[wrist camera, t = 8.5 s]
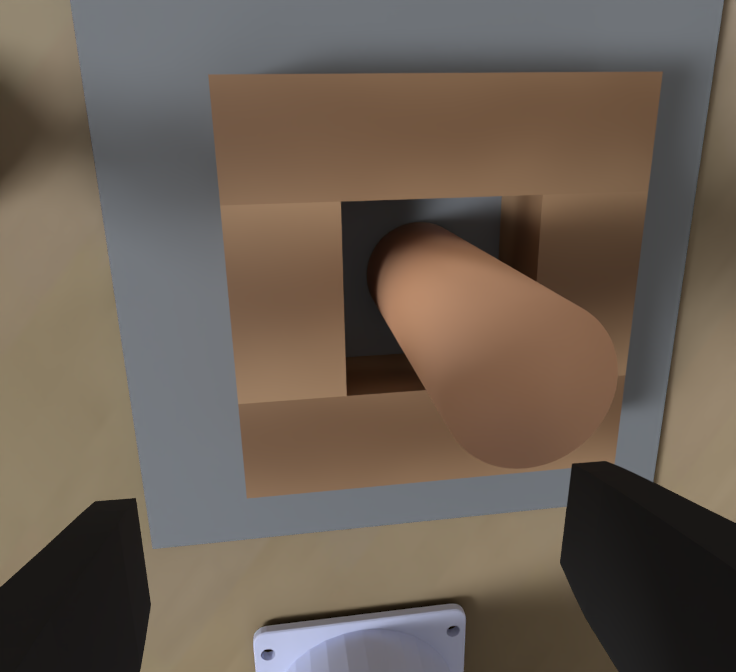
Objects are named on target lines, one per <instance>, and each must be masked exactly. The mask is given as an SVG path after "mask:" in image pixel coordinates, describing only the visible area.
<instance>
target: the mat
mask: <svg viewBox="0 0 736 672" xmlns="http://www.w3.org/2000/svg"><path fill="white" fill-rule="evenodd" d="M70 3H71V9H72V16H73V23H74V29H75V36H76V43H77V49H78V56H79V62H80V69H81V76H82V82H83V89H84V96H85V102H86V109H87V116H88V122H89V129H90V135H91V142H92V149H93V155H94V162H95V169H96V175H97V182H98V189H99V195H100V202H101V208H102V215H103V222H104V228H105V235H106V242H107V248H108V255H109V262H110V268H111V275H112V281H113V288H114V295H115V301H116V308H117V315H118V321H119V328H120V335H121V341H122V348H123V354H124V361H125V368H126V374H127V381H128V388H129V394H130V401H131V408H132V414H133V421H134V427H135V434H136V441H137V447H138V454H139V461H140V467H141V474H142V481H143V487H144V494H145V500H146V507H147V514H148V520H149V527H150V534H151V540H152V547H153V549H157V548H167V547H177V546H186V545H196V544H206V543H216V542H225V541H235V540H245V539H255V538H264V537H274V536H284V535H293V534H303V533H313V532H323V531H332V530H342V529H352V528H362V527H371V526H381V525H391V524H401V523H410V522H420V521H430V520H440V519H449V518H459V517H469V516H479V515H488V514H498V513H508V512H518V511H527V510H537V509H547V508H557V507H566V506H567V501H568V492H569V484H570V476H571V468H566V469H556V470H545V471H534V472H524V473H513V474H502V475H492V476H481V477H471V478H460V479H449V480H439V481H428V482H417V483H407V484H396V485H386V486H375V487H364V488H354V489H343V490H333V491H322V492H311V493H301V494H290V495H279V496H269V497H258V498H248V499H247V495H246V484H245V473H244V462H243V451H242V440H241V429H240V418H239V407H238V396H237V385H236V374H235V363H234V352H233V341H232V330H231V319H230V308H229V297H228V286H227V275H226V264H225V253H224V242H223V231H222V220H221V209H220V198H219V187H218V176H217V165H216V154H215V143H214V132H213V121H212V110H211V99H210V88H209V77H208V74H360V73H515V72H663V74H662V83H661V91H660V99H659V107H658V115H657V123H656V131H655V139H654V148H653V156H652V164H651V172H650V180H649V188H648V196H647V204H646V213H645V221H644V229H643V237H642V245H641V253H640V261H639V270H638V278H637V286H636V294H635V302H634V310H633V318H632V326H631V335H630V343H629V351H628V359H627V367H626V375H625V383H624V391H623V400H622V408H621V416H620V424H619V432H618V440H617V448H616V457H615V465H617V466H620V467H622V468H624V469H627V470H629V471H631V472H633V473H635V474H637V475H639V476H641V477H643V478H646V479H648V480H650V481H652V482H653V480H654V473H655V466H656V460H657V453H658V446H659V439H660V432H661V425H662V419H663V412H664V405H665V398H666V391H667V385H668V378H669V371H670V364H671V357H672V351H673V344H674V337H675V330H676V323H677V316H678V310H679V303H680V296H681V289H682V282H683V276H684V269H685V262H686V255H687V248H688V242H689V235H690V228H691V221H692V214H693V207H694V201H695V194H696V187H697V180H698V173H699V167H700V160H701V153H702V146H703V139H704V133H705V126H706V119H707V112H708V105H709V98H710V92H711V85H712V78H713V71H714V64H715V58H716V51H717V44H718V37H719V30H720V24H721V17H722V10H723V3H724V0H70ZM501 201H502V196H491V197H461V198H432V199H402V200H372V201H342V202H341V225H342V258H343V291H344V324H345V357H358V356H373V355H388V354H403V353H404V352H403V350H402V348H401V347H400V345H399V343H398V341H397V340H396V338H395V336H394V335H393V333H392V331H391V330H390V328H389V326H388V325H387V323H386V321H385V319H384V318H383V316H382V314H381V313H380V311H379V309H378V308H377V306H376V304H375V302H374V301H373V299H372V297H371V295H370V292H369V289H368V285H367V266H368V262H369V259H370V256H371V254H372V252H373V250H374V248H375V247H376V245H377V244H378V242H379V241H380V240H381V239H382V238H383V237H384V236H385V235H386V234H388V233H389V232H390V231H392V230H393V229H395V228H397V227H399V226H401V225H405V224H408V223H413V222H427V223H432V224H436V225H438V226H441V227H443V228H444V229H446V230H448V231H450V232H451V233H453V234H455V235H457V236H458V237H460V238H462V239H463V240H465V241H467V242H469V243H470V244H472V245H474V246H476V247H477V248H479V249H481V250H482V251H484V252H486V253H488V254H489V255H491V256H493V257H495V258H496V259H498V260H499V240H500V220H501Z"/></svg>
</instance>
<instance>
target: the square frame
mask: <svg viewBox="0 0 736 672" xmlns="http://www.w3.org/2000/svg"><path fill="white" fill-rule="evenodd" d="M662 74H663V72H515V73H360V74H208V77H209V88H210V99H211V110H212V121H213V132H214V143H215V154H216V165H217V176H218V187H219V198H220V209H221V220H222V231H223V242H224V253H225V264H226V275H227V286H228V297H229V308H230V319H231V330H232V341H233V352H234V363H235V374H236V385H237V396H238V407H239V418H240V429H241V440H242V451H243V462H244V473H245V484H246V495H247V499H248V498H258V497H269V496H279V495H290V494H301V493H311V492H322V491H333V490H343V489H354V488H364V487H375V486H386V485H396V484H407V483H417V482H428V481H439V480H449V479H460V478H471V477H481V476H492V475H502V474H513V473H524V472H534V471H545V470H556V469H566V468H571V467H572V463H585V462H598V461H607V462H610V463H612V464H615V457H616V448H617V440H618V432H619V424H620V416H621V408H622V400H623V391H624V383H625V375H626V367H627V359H628V351H629V343H630V335H631V326H632V318H633V310H634V302H635V294H636V286H637V278H638V270H639V261H640V253H641V245H642V237H643V229H644V221H645V213H646V204H647V196H648V188H649V180H650V172H651V164H652V156H653V148H654V139H655V131H656V123H657V115H658V107H659V99H660V91H661V83H662ZM491 196H502V201H501V220H500V240H499V260H500V261H501V262H503V263H505V264H507V265H508V266H510V267H512V268H514V269H515V270H517V271H519V272H520V273H522V274H524V275H526V276H527V277H529V278H531V279H533V280H534V281H536V282H538V283H539V284H541V285H543V286H545V287H546V288H548V289H550V290H552V291H553V292H555V293H557V294H558V295H560V296H562V297H564V298H565V299H567V300H569V301H571V302H572V303H574V304H576V305H577V306H579V307H581V308H583V309H584V310H586V311H588V312H589V313H590V314H591V315H593V316H594V317H595V318H596V319H597V320H598V321H599V322H600V323H601V324H602V325H603V327H604V328H605V330H606V331H607V333H608V334H609V336H610V338H611V340H612V342H613V345H614V348H615V351H616V355H617V362H618V380H617V387H616V391H615V395H614V399H613V401H612V404H611V406H610V409H609V411H608V412H607V414H606V416H605V418H604V420H603V421H602V422H601V424H600V425H599V427H598V428H597V429H596V430H595V432H594V433H593V434H592V435H591V436H590V437H589V438H588V439H587V440H586V441H585V442H584V443H583V444H582V445H580V446H579V447H578V448H576V449H575V450H574V451H572V452H571V453H569V454H567V455H566V456H564V457H562V458H560V459H558V460H556V461H553V462H551V463H548V464H545V465H542V466H537V467H532V468H523V469H511V468H503V467H497V466H494V465H491V464H487V463H485V462H483V461H481V460H479V459H477V458H476V457H474V456H472V455H471V454H469V453H468V452H467V451H466V450H465V449H464V448H463V447H462V446H461V445H460V444H459V443H458V442H457V441H456V439H455V438H454V436H453V435H452V433H451V431H450V430H449V428H448V426H447V425H446V423H445V421H444V420H443V418H442V416H441V415H440V413H439V411H438V409H437V408H436V406H435V404H434V403H433V401H432V399H431V398H430V396H429V394H428V392H427V391H426V389H425V387H424V386H423V384H422V382H421V381H420V379H419V377H418V375H417V374H416V372H415V370H414V369H413V367H412V365H411V364H410V362H409V360H408V358H407V357H406V355H405V353H403V354H388V355H373V356H358V357H345V324H344V291H343V258H342V225H341V202H342V201H372V200H402V199H432V198H461V197H491Z"/></svg>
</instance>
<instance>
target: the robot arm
mask: <svg viewBox="0 0 736 672" xmlns="http://www.w3.org/2000/svg"><path fill="white" fill-rule="evenodd" d="M560 564H561V566H562V568H563V571H564V573H565V575H566V577H567V580H568V582H569V584H570V586H571V589H572V591H573V593H574V595H575V597H576V599H577V602H578V604H579V606H580V608H581V610H582V612H583V614H584V616H585V618H586V620H587V621H588V623H589V625H590V626H591V628H592V630H593V631H594V633H595V634H596V636H597V638H598V639H599V641H600V642H601V644H602V646H603V647H604V649H605V651H606V652H607V654H608V655H609V657H610V659H611V660H612V662H613V663H614V665H615V667H616V668H617V670H618V671H619V672H736V523H734V522H732V521H730V520H728V519H726V518H724V517H722V516H720V515H718V514H716V513H714V512H712V511H710V510H708V509H706V508H704V507H702V506H700V505H698V504H696V503H694V502H692V501H690V500H688V499H686V498H684V497H682V496H680V495H678V494H676V493H674V492H672V491H670V490H668V489H666V488H664V487H662V486H660V485H658V484H656V483H654V482H652V481H650V480H648V479H646V478H643V477H641V476H639V475H637V474H635V473H633V472H631V471H629V470H627V469H624V468H622V467H620V466H617V465H615V464H612V463H610V462H607V461H598V462H585V463H572V467H571V476H570V484H569V492H568V501H567V509H566V517H565V526H564V534H563V542H562V551H561V559H560ZM150 607H151V602H150V595H149V588H148V581H147V574H146V567H145V560H144V553H143V545H142V538H141V531H140V524H139V517H138V510H137V503H136V498H132V499H120V500H107V501H95V502H94V503H93V504H92V505H90V506H89V507H88V508H87V509H86V510H85V511H83V512H82V513H81V514H80V515H79V516H78V517H77V518H76V519H75V520H74V521H73V522H71V523H70V524H69V525H68V526H67V527H66V528H65V529H64V530H63V531H62V532H61V533H60V534H59V535H57V536H56V537H55V538H54V539H53V540H52V541H51V542H50V543H49V544H48V545H47V546H46V547H45V548H43V549H42V550H41V551H40V552H39V553H38V554H37V555H36V556H35V557H33V558H32V559H31V560H30V561H29V562H28V563H27V564H26V565H25V566H23V567H22V568H21V569H20V570H19V571H18V572H17V573H16V574H15V575H13V576H12V577H11V578H10V579H9V580H8V581H7V582H6V583H5V584H3V585H2V586H1V587H0V672H140V669H141V663H142V657H143V651H144V645H145V640H146V633H147V626H148V620H149V613H150ZM451 626H455V627H454V628H452V629H448V628H449V627H451ZM465 628H466V616H465V613H464V610H463V608H462V607H461V606H460V605H458V604H443V605H435V606H427V607H418V608H410V609H402V610H394V611H385V612H377V613H369V614H360V615H352V616H344V617H336V618H327V619H319V620H311V621H303V622H294V623H286V624H278V625H270V626H264V627H261V628H259V629H258V630H257V631H256V632H255V634H254V640H253V647H254V657H255V668H256V672H464V653H465ZM266 649H272V650H273V651H270V652H265V651H264V650H266Z"/></svg>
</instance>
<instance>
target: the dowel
mask: <svg viewBox="0 0 736 672" xmlns="http://www.w3.org/2000/svg"><path fill="white" fill-rule="evenodd" d="M367 285H368V289H369V292H370V295H371V297H372V299H373V301H374V302H375V304H376V306H377V308H378V309H379V311H380V313H381V314H382V316H383V318H384V319H385V321H386V323H387V325H388V326H389V328H390V330H391V331H392V333H393V335H394V336H395V338H396V340H397V341H398V343H399V345H400V347H401V348H402V350H403V352H404V353H405V355H406V357H407V358H408V360H409V362H410V364H411V365H412V367H413V369H414V370H415V372H416V374H417V375H418V377H419V379H420V381H421V382H422V384H423V386H424V387H425V389H426V391H427V392H428V394H429V396H430V398H431V399H432V401H433V403H434V404H435V406H436V408H437V409H438V411H439V413H440V415H441V416H442V418H443V420H444V421H445V423H446V425H447V426H448V428H449V430H450V431H451V433H452V435H453V436H454V438H455V439H456V441H457V442H458V443H459V444H460V445H461V446H462V447H463V448H464V449H465V450H466V451H467V452H468V453H469V454H471V455H472V456H474V457H476V458H477V459H479V460H481V461H483V462H485V463H487V464H491V465H494V466H497V467H503V468H511V469H523V468H532V467H537V466H542V465H545V464H548V463H551V462H553V461H556V460H558V459H560V458H562V457H564V456H566V455H567V454H569V453H571V452H572V451H574V450H575V449H576V448H578V447H579V446H580V445H582V444H583V443H584V442H585V441H586V440H587V439H588V438H589V437H590V436H591V435H592V434H593V433H594V432H595V430H596V429H597V428H598V427H599V425H600V424H601V422H602V421H603V420H604V418H605V416H606V414H607V412H608V411H609V409H610V406H611V404H612V401H613V399H614V395H615V391H616V387H617V380H618V362H617V355H616V351H615V348H614V345H613V342H612V340H611V338H610V336H609V334H608V333H607V331H606V330H605V328H604V327H603V325H602V324H601V323H600V322H599V321H598V320H597V319H596V318H595V317H594V316H593V315H591V314H590V313H589V312H588V311H586V310H584V309H583V308H581V307H579V306H577V305H576V304H574V303H572V302H571V301H569V300H567V299H565V298H564V297H562V296H560V295H558V294H557V293H555V292H553V291H552V290H550V289H548V288H546V287H545V286H543V285H541V284H539V283H538V282H536V281H534V280H533V279H531V278H529V277H527V276H526V275H524V274H522V273H520V272H519V271H517V270H515V269H514V268H512V267H510V266H508V265H507V264H505V263H503V262H501V261H500V260H498V259H496V258H495V257H493V256H491V255H489V254H488V253H486V252H484V251H482V250H481V249H479V248H477V247H476V246H474V245H472V244H470V243H469V242H467V241H465V240H463V239H462V238H460V237H458V236H457V235H455V234H453V233H451V232H450V231H448V230H446V229H444V228H443V227H441V226H438V225H436V224H432V223H427V222H413V223H408V224H405V225H401V226H399V227H397V228H395V229H393V230H392V231H390V232H389V233H388V234H386V235H385V236H384V237H383V238H382V239H381V240H380V241H379V242H378V244H377V245H376V247H375V248H374V250H373V252H372V254H371V256H370V259H369V262H368V266H367Z"/></svg>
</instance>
